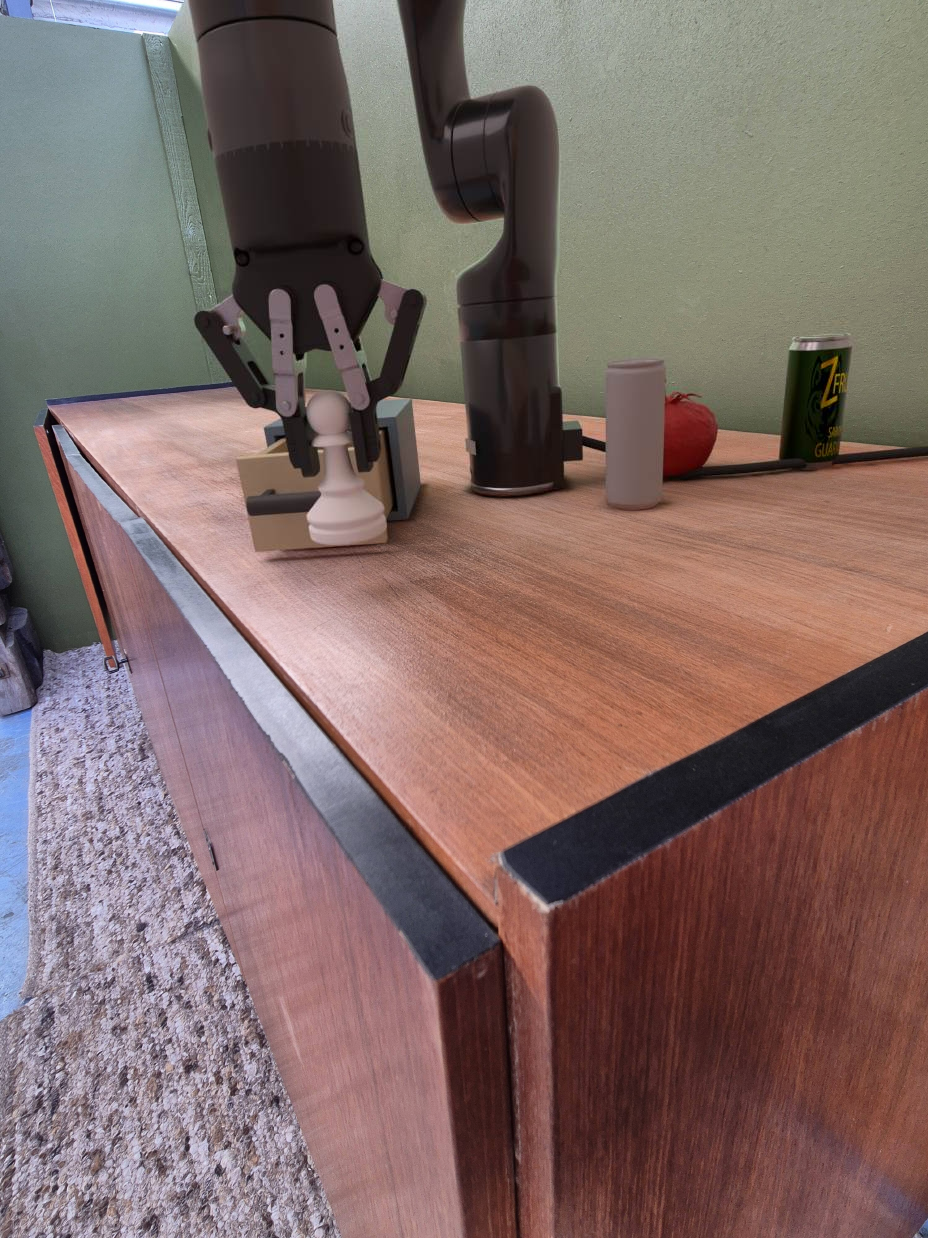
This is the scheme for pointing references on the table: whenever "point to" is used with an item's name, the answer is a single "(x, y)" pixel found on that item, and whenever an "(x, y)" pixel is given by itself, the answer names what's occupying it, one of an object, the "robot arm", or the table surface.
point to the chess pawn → (339, 479)
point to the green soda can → (815, 399)
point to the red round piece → (686, 434)
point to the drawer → (300, 495)
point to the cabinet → (401, 448)
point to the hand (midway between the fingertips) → (338, 470)
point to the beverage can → (635, 432)
